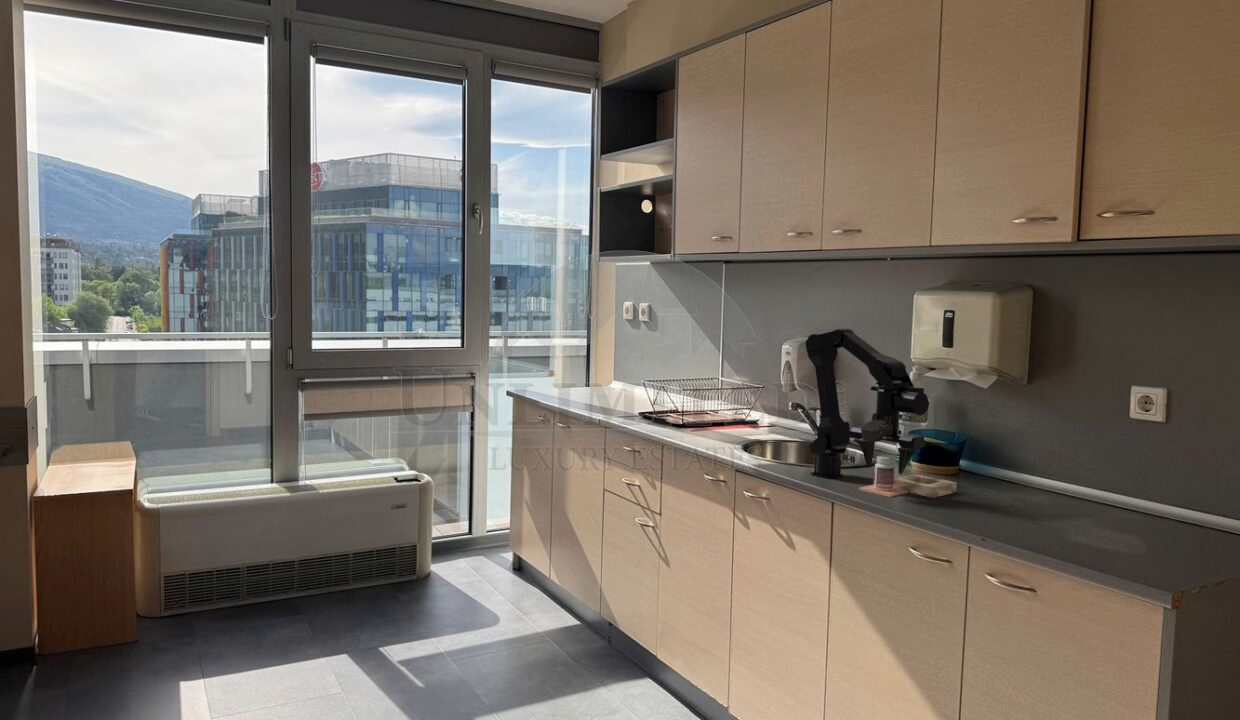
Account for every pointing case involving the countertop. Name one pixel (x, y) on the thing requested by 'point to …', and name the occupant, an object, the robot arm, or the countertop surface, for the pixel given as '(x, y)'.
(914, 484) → the frame block
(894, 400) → the robot arm
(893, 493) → the terracotta tile
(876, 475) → the pill bottle
